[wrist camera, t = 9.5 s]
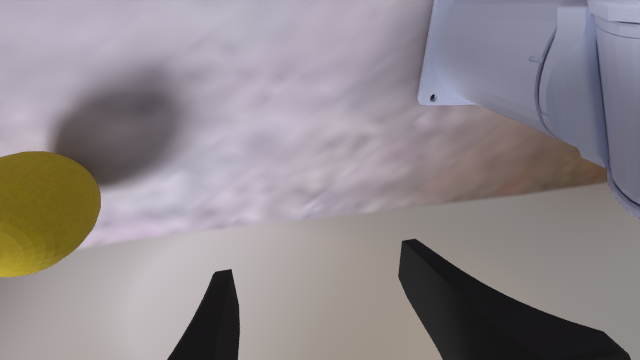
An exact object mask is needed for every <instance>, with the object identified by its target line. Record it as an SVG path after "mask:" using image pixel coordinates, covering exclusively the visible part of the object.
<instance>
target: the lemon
mask: <svg viewBox="0 0 640 360" xmlns="http://www.w3.org/2000/svg"><path fill="white" fill-rule="evenodd" d="M100 208H101V195H100V191H99V188H98V185H97V182H96V181H95V179H94V178H93V176H92V175H91V173H90V172H89V171H88V170H87V169H85V168H84V167H83V166H82V165H81V164H79V163H77V162H76V161H74V160H73V159H70V158H68V157H65V156H63V155H60V154H55V153H49V152H44V151H32V152H21V153H16V154H12V155H7V156H4V157H1V158H0V277H15V276H22V275H29V274H32V273H35V272H38V271H41V270H43V269H46V268H48V267H50V266H52V265H54V264H55V263H57V262H58V261H60V260H61V259H63V258H64V257H66V256H67V255H69V254H70V253H71V252H73V251H74V250H75V249H76V248H77V247H78V246H79V245H80V244H81V243H82V242H83V241H84V239H85V238H86V237H87V236H88V234H89V233H90V232H91V231H92V229H93V227H94V226H95V223H96V221H97V218H98V215H99V212H100Z"/></svg>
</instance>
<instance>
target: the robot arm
mask: <svg viewBox="0 0 640 360" xmlns="http://www.w3.org/2000/svg"><path fill="white" fill-rule="evenodd" d="M433 94H434V99H433V100H431V101H430V97H431V96H432V95H433ZM417 100H418V102H419V103H420V104H422V105H425V106H427V105H481V106H483V107H485V108H487V109H490V110H492V111H494V112H497V113H499V114H501V115H504V116H506V117H508V118H511V119H513V120H515V121H518V122H520V123H522V124H524V125H527V126H529V127H531V128H534V129H536V130H538V131H541V132H543V133H545V134H548V135H550V136H552V137H555V138H557V139H560V140H561V141H563V142H566V143H568V144H570V145H573V146H575V147H577V148H578V149H579V151H580V153H581V157H582V158H585V159H587V160H589V161H591V162H593V163H596V164H598V165H600V166H602V167H604V168H608V169H607V176H608V185H609V188H610V191H611V193H612V195H613V196H614V197H615V199H616V201H617V202H618V203H619V204H620V205H621V206H622V207H623V208H624V209H625V210H626V211H627V212H629V213H630V214H632V215H633V216H635V217H636V218H638V219H640V0H434V3H433V9H432V15H431V21H430V26H429V32H428V38H427V44H426V50H425V55H424V61H423V67H422V73H421V79H420V85H419V90H418V96H417ZM398 277H399V280H400V282H401V284H402V287H403V289H404V291H405V294H406V296H407V298H408V300H409V301H410V303H411V305H412V307H413V308H414V310H415V312H416V313H417V315H418V317H419V318H420V320H421V322H422V324H423V325H424V327H425V329H426V330H427V332H428V333H429V335H430V337H431V339H432V340H433V342H434V344H435V345H436V347H437V349H438V351H439V353H440V355H441V357H442V359H443V360H631V359H630V356H629V354H628V353H627V352H626V351H624V349H622V348H621V347H620V346H619V345H618V344H617V343H615V342H614V341H613V340H612V339H611V338H610V337H609V336H608V335H607V334H605V333H604V332H603V331H600V330H596V329H593V328H590V327H587V326H583V325H580V324H577V323H574V322H570V321H567V320H565V319H562V318H559V317H556V316H554V315H551V314H548V313H545V312H543V311H540V310H538V309H536V308H533V307H531V306H529V305H526V304H524V303H522V302H519V301H517V300H515V299H513V298H511V297H509V296H506V295H504V294H503V293H500V292H499V291H497V290H495V289H493V288H491V287H489V286H487V285H485V284H484V283H482V282H480V281H478V280H477V279H475V278H473V277H472V276H470V275H468V274H467V273H465V272H463V271H462V270H460V269H459V268H457V267H456V266H454V265H453V264H451V263H450V262H448V261H447V260H445V259H444V258H442V257H441V256H440V255H438V254H437V253H435V252H434V251H432V250H431V249H429V248H428V247H426V246H425V245H424V244H422V243H421V242H419V241H418V240H416V239H411V240H405V241H402V247H401V256H400V265H399V275H398ZM239 321H240V320H239V304H238V299H237V294H236V289H235V284H234V279H233V275H232V270H231V269H229V270H223V271H218V272H215V273H214V274H213V276H212V279H211V281H210V284H209V286H208V289H207V291H206V293H205V295H204V297H203V300H202V301H201V303H200V305H199V307H198V309H197V311H196V313H195V315H194V317H193V319H192V320H191V323H190V324H189V326H188V327H187V329H186V331H185V333H184V334H183V336H182V338H181V339H180V341H179V342H178V344H177V346H176V347H175V349H174V350H173V352H172V353H171V355H170V356H169V358H168V359H167V360H238V349H239V335H240V322H239Z"/></svg>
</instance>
